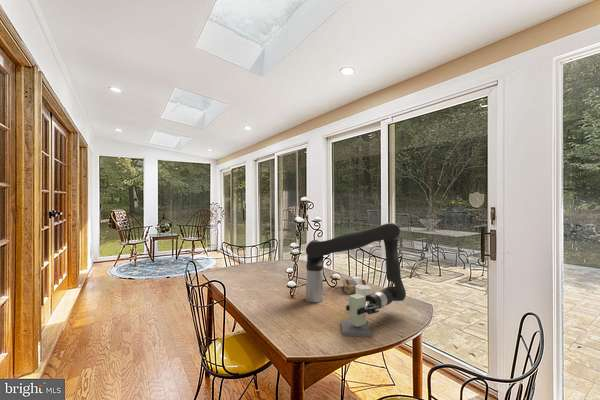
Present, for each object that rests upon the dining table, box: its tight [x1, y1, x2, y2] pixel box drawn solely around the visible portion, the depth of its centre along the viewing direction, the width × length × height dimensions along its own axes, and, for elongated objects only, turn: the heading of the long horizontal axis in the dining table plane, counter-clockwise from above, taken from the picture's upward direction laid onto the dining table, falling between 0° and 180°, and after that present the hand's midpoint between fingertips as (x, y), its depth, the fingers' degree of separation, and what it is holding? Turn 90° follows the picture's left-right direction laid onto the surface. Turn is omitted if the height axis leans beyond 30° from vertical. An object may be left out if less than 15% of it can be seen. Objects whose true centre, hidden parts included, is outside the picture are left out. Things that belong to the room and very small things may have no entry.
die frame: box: [342, 278, 369, 295], centre depth 189 cm, size 14×15×4 cm
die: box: [348, 275, 363, 286], centre depth 189 cm, size 8×9×10 cm
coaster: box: [340, 319, 373, 338], centre depth 133 cm, size 12×12×2 cm
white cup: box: [356, 284, 372, 296], centre depth 163 cm, size 8×8×10 cm
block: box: [348, 294, 367, 327], centre depth 134 cm, size 5×5×12 cm
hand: (352, 310), depth 131 cm, fingers open, 5 cm apart
